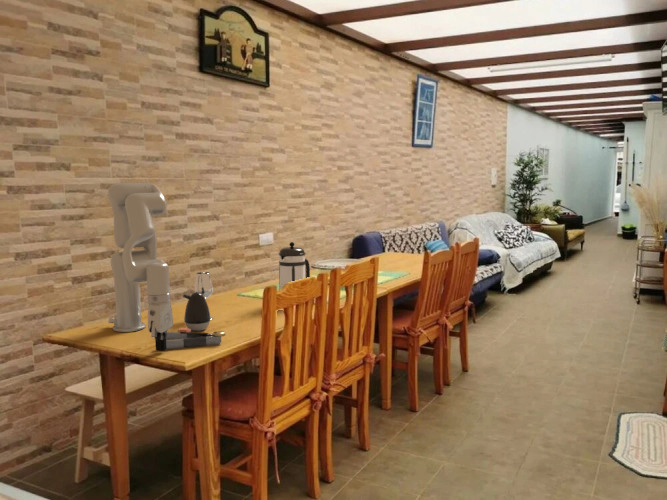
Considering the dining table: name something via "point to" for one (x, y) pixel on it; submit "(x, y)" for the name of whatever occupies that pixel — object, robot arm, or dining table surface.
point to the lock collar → (184, 330)
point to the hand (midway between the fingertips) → (161, 349)
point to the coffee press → (292, 265)
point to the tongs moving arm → (192, 342)
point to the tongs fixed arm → (193, 335)
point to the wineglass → (204, 285)
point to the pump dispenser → (196, 312)
